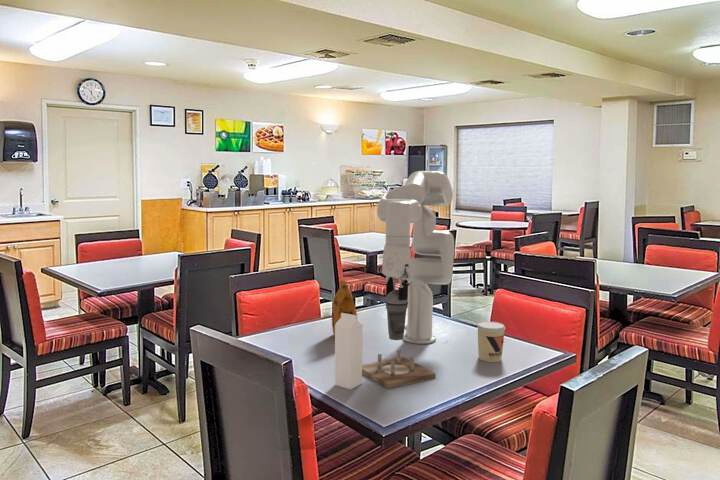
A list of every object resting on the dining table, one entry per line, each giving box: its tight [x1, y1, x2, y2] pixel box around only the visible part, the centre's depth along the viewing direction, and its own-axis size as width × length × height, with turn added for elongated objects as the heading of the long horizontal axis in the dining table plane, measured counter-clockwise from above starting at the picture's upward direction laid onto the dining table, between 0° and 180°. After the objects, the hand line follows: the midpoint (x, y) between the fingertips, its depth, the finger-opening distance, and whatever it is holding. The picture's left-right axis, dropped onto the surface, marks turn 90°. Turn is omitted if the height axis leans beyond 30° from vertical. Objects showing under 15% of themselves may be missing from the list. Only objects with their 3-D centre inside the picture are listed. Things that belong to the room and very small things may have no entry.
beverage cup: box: [385, 278, 408, 341], centre depth 179 cm, size 7×7×20 cm
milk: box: [334, 313, 363, 390], centre depth 172 cm, size 6×6×22 cm
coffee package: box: [331, 279, 359, 337], centre depth 219 cm, size 10×12×22 cm
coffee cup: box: [476, 321, 506, 363], centre depth 197 cm, size 9×9×12 cm
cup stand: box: [362, 349, 437, 390], centre depth 182 cm, size 18×18×6 cm
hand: (396, 297), depth 179 cm, fingers closed on beverage cup, 6 cm apart
